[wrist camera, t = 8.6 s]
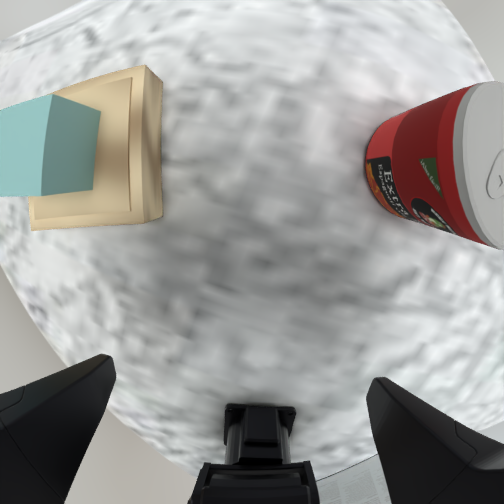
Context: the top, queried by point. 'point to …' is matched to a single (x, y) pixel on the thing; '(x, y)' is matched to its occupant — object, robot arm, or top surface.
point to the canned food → (445, 163)
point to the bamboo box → (114, 155)
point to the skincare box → (356, 485)
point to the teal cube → (47, 147)
